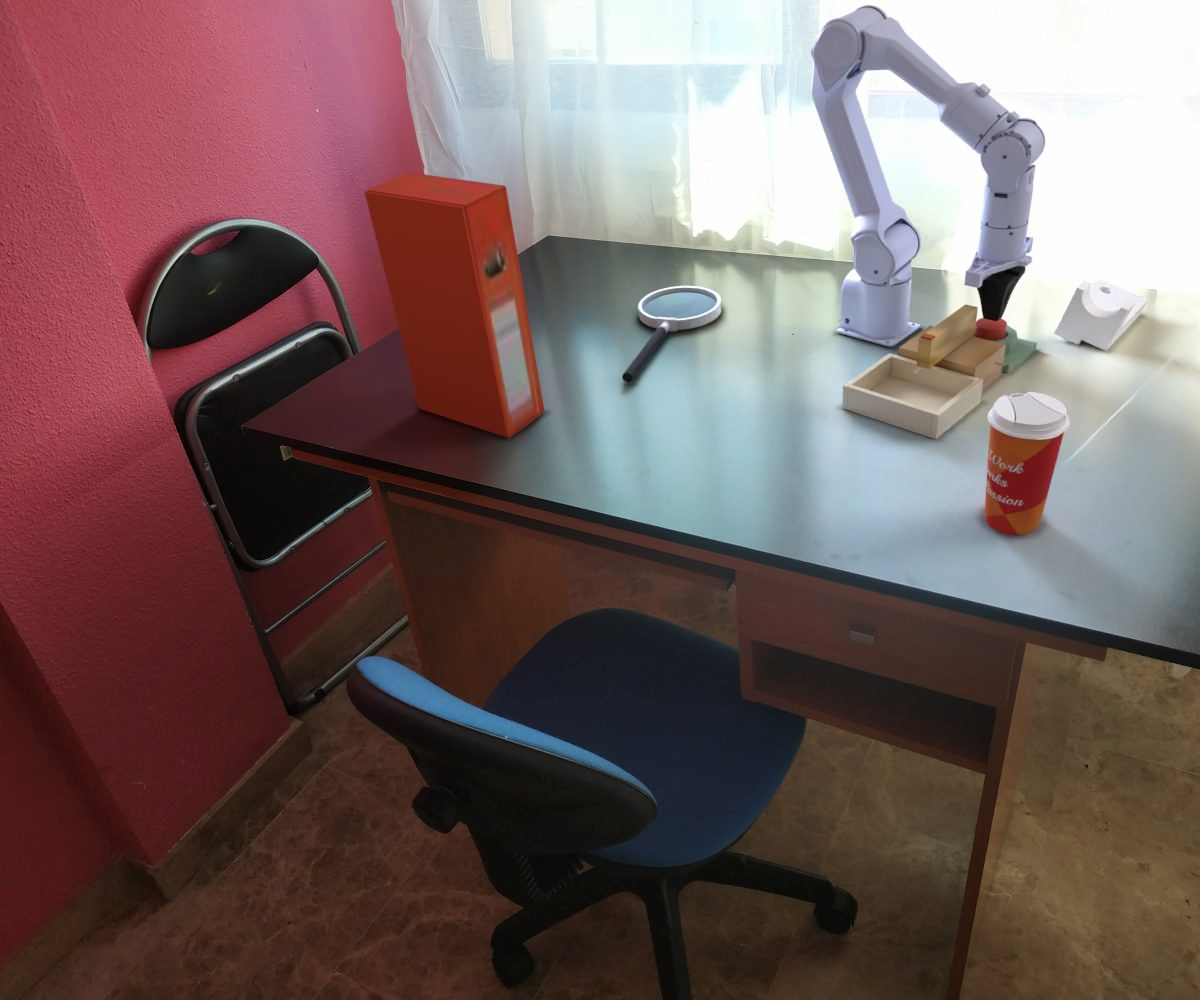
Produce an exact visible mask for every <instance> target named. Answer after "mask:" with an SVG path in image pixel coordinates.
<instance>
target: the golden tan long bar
mask: <svg viewBox="0 0 1200 1000" xmlns="http://www.w3.org/2000/svg"><path fill="white" fill-rule="evenodd" d="M978 309H979V307H978V306H975V305H970V304H964V305H962V306H961V307H960V308H958V309H957V310H955V311H954V312H953V313H952V314H950V315H949V316H948V317H946V318H945V319H942V321H940V322H939V323H938V324H936V325H935V326H934V328H932V329H931V330H929V331H928V332H927V333H924V334H923V335H921V337H920V338H919V343H918V355H917V366H919V367H922V368H926V369H930V368H931V367H933V366H934V365H935V364H936V363H938V362H939V361H940V360H942V359H943V358H944V357H946V356H947V355H948V354H950V353H951V352H952V351H953V350H955V349H956V348H957V347H959V346H960V345H961V344H963V343H964V342H965V341H966V340H968V339H969V338H970V337H972V336H973V335H974V334H975V327H976V322H977V317H978V311H979V310H978Z"/></svg>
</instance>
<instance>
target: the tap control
mask: <svg viewBox="0 0 1200 1000" xmlns="http://www.w3.org/2000/svg"><path fill="white" fill-rule="evenodd" d="M1017 332H1018V331H1017V330H1016V329H1014V328H1013V327H1011V326H1010V325H1007V328H1006V336H1005V338H1004V339H1001V340H997V341H993V342H997V343H1001V344H1005V345H1006V346H1005V354H1004V361H1003V364H1005V366H1003V368H1002V373H1007V374H1009V373H1010V372H1011V371H1012V370H1014V369H1015V368H1017V366H1019V365H1020V364H1021V363H1022V362H1024V361H1025V360H1026V359H1027V358H1029V357H1030V356H1031V355H1033V353H1035V352H1036V351H1037V345H1038V343H1037V342H1034V341H1031V340H1027V339H1023V338H1020V337H1019V338H1018V333H1017ZM973 337H975V334H974V335H973Z"/></svg>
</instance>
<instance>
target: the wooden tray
mask: <svg viewBox="0 0 1200 1000" xmlns="http://www.w3.org/2000/svg"><path fill="white" fill-rule="evenodd" d="M917 369H921V370H920V371H919V372H918V373H917V374H915V375H914V374H912V373H913V372H915V371H916V370H917ZM982 386H983V379H980V378H976V377H973V376H969V375H966V374H962V373H959V372H955V371H951V370H948V369H944V368H941V367H937V366H933V367H931V368H930V369H926V368H922V367H919V366H917V361H916V360H912V359H909V358H905V357H902V356H899V354H898V355H897V354H894V353H891V352H889V353H887V354H886V355H884V356H883V357H881V358H880V359H879V360H877V361H875V362H874V363H873V364H871V365H870V366H869V367H867V368H866V369H864V370H863V371H862V372H860V373H858V374H857V375H856V376H854V377H853V378H852V379H850V380H848V381H847V382H846V383H844V384H843V385H842V402H841V403H842V405H841V408H842V409H844V410H846V411H850V412H853V413H855V414H859V415H862V416H865V417H867V418H872V419H874V420H877V421H880V422H883V423H886V424H889V425H892V426H895V427H898V428H901V429H905V430H908V431H911V432H913V433H915V434H920V435H922V436H926V437H929V438H931V439H935V440H937V439H938V438H940V437H941V436H942V435H943V434H944V433H946V432H947V431H949V429H950V428H952V427H953V426H954V425H955V424H956V423H957V422H959V421H960V420H961V419H963V418H964V417H965V416H966V415H967V414H968V413H970V412H971V411H972V410H973V409H974V408H975V407H977V406H978V405H979V404H981V400H982V394H983V390H982Z"/></svg>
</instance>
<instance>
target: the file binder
mask: <svg viewBox="0 0 1200 1000" xmlns="http://www.w3.org/2000/svg"><path fill="white" fill-rule="evenodd" d="M363 193H364V197H365V200H366V204H367V208H368V213H369V215H370V220H371V223H372V227H373V232H374V236H375V239H376V244H377V247H378V252H379V255H380V259H381V263H382V266H383V267H382V268H383V270H384V274H385V275H384V276H385V278H386V283H387V286H388V290H389V295H390V297H391V302H392V306H393V309H394V313H395V318H396V322H397V326H398V330H399V333H400V337H401V340H402V346H403V348H404V353H405V356H406V360H407V364H408V369H409V372H410V376H411V380H412V384H413V389H414V392H415V396H416V399H417V404H418V408H419V409H420V410H421V411H425V412H428V413H431V414H433V415H437V416H440V417H443V418H446V419H449V420H453V421H456V422H458V423H462V424H465V425H467V426H470V427H474V428H477V429H480V430H483V431H486V432H489V433H492V434H495V435H499V436H500V437H504V438H507V439H510V438H511V437H513V436H514V435H515V434H516V433H518V432H520V431H521V430H522V429H523V428H525V427H526V426H528V425H529V424H530V423H532V422H533V421H535V420H536V419H537V418H538V417H540V416H541V415H543V413H544V412H545V406H544V402H543V401H544V400H543V394H542V389H541V384H540V377H539V371H538V365H537V360H536V354H535V348H534V342H533V336H532V331H531V325H530V319H529V312H528V306H527V302H526V296H525V291H524V283H523V277H522V273H521V267H520V266H521V265H520V261H519V256H518V249H517V243H516V238H515V231H514V225H513V220H512V219H513V218H512V213H511V209H510V203H509V202H510V201H509V197H508V191H507V186H506V185H503V184H497V183H496V184H495V183H489V182H482V181H474V180H467V179H461V178H453V177H447V176H446V177H445V176H437V175H430V174H424V173H416V172H410V171H409V172H408V171H407V172H405V173H403V174H400V175H398V176H395V177H393V178H391V179H389V180H387V181H384V182H382V183H380V184H377V185H376V186H373V187H370V188H368V189H366V191H363Z"/></svg>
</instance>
